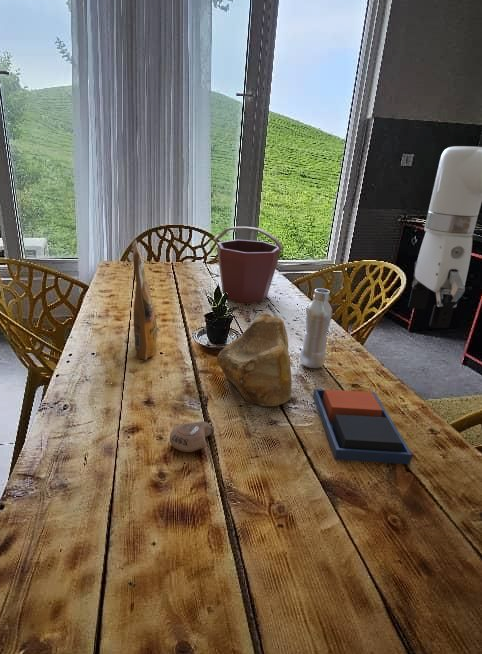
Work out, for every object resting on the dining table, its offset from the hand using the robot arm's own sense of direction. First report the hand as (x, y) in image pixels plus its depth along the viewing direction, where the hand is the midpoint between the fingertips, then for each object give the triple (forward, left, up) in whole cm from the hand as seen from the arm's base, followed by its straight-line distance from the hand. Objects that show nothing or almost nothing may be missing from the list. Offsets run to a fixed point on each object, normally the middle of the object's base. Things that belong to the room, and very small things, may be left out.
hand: (426, 317), depth 82 cm
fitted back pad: (+10, +8, -23) cm, 26 cm away
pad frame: (+10, +3, -23) cm, 26 cm away
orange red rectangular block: (+10, -2, -23) cm, 25 cm away
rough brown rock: (+30, -12, -24) cm, 40 cm away
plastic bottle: (+14, -24, -24) cm, 36 cm away
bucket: (+29, -79, -24) cm, 87 cm away
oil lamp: (+42, +11, -24) cm, 49 cm away
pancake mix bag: (+58, -29, -24) cm, 69 cm away
